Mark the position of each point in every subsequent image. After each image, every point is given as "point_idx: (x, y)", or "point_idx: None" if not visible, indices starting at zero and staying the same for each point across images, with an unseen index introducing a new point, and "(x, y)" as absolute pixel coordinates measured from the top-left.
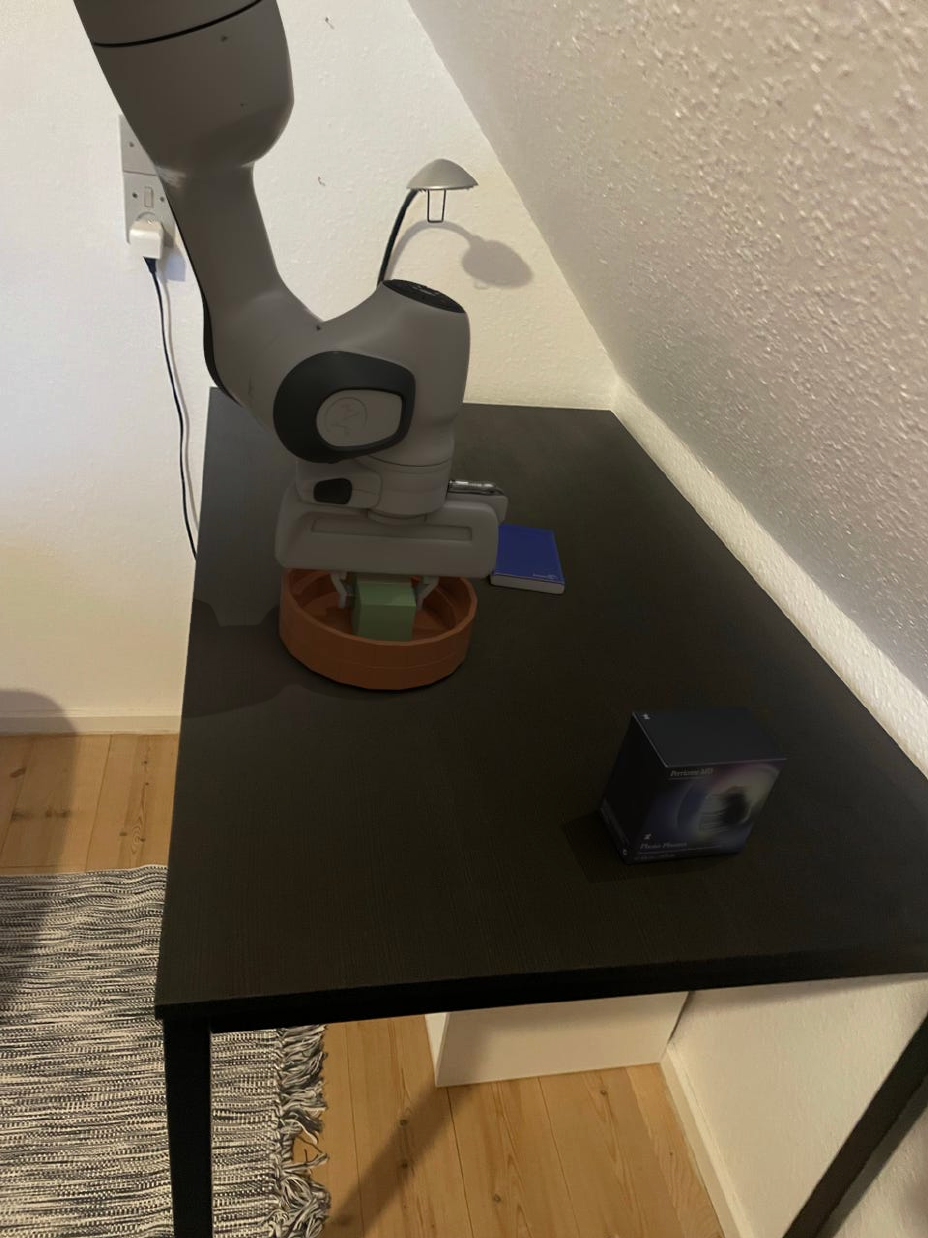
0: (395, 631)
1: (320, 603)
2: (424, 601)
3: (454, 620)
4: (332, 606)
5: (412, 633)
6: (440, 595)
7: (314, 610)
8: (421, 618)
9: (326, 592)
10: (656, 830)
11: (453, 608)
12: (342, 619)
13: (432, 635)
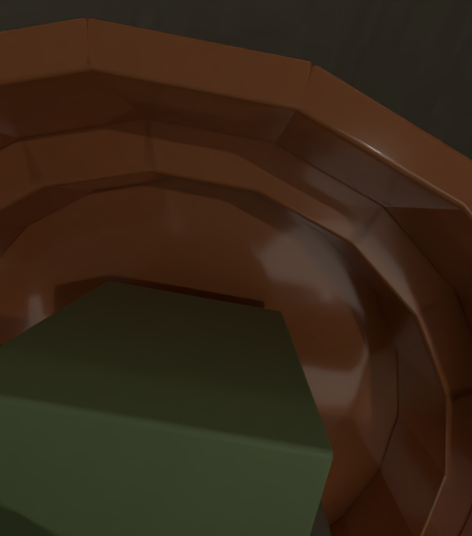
0: None
1: (41, 258)
2: (382, 303)
3: (414, 511)
4: (76, 279)
5: None
6: (440, 389)
7: (18, 293)
8: (336, 368)
9: (62, 205)
10: None
11: (443, 488)
12: None
13: (334, 442)
